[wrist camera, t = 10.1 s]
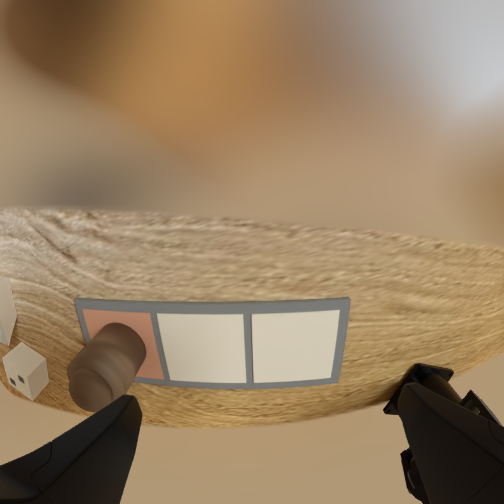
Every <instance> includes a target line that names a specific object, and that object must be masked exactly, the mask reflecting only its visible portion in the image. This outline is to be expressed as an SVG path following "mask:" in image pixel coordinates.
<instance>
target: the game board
mask: <svg viewBox="0 0 504 504" xmlns="http://www.w3.org/2000/svg"><path fill="white" fill-rule="evenodd" d="M350 300H351V299H350V298H349V297H342V298H326V299H307V300H284V301H250V302H159V301H127V300H104V299H87V298H75V299H74V302H75V306H76V310H77V314H78V318H79V321H80V325H81V328H82V332H83V335H84V338H85V342H86V345H87V344H88V343H89V342H90V341H91V340H92V338H93V337H94V336H95V335H96V334H97V333H98V332H99V331H100V330H101V329H102V328H103V327H104V326H105V325H107V324H109V323H113V322H116V323H122V324H125V325H127V326H129V327H130V328H132V329H133V330H134V331H135V332H137V333H138V335H139V336H140V337H141V338H142V340H143V342H144V344H145V347H146V358H145V360H144V362H143V364H142V365H141V367H140V369H139V371H138V373H137V374H136V376H135V378H134V380H133V382H138V383H146V384H155V385H164V386H176V387H189V388H209V389H269V388H289V387H303V386H314V385H324V384H333V383H338V381H339V375H340V370H341V364H342V358H343V352H344V346H345V339H346V332H347V325H348V317H349V309H350Z"/></svg>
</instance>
